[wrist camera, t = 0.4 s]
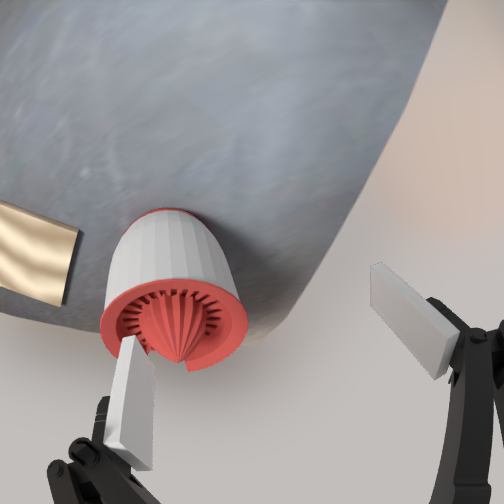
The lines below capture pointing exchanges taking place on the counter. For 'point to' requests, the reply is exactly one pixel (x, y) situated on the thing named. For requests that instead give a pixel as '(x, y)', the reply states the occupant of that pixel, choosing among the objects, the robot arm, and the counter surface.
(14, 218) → the birch board
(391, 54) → the counter surface
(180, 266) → the citrus juicer
